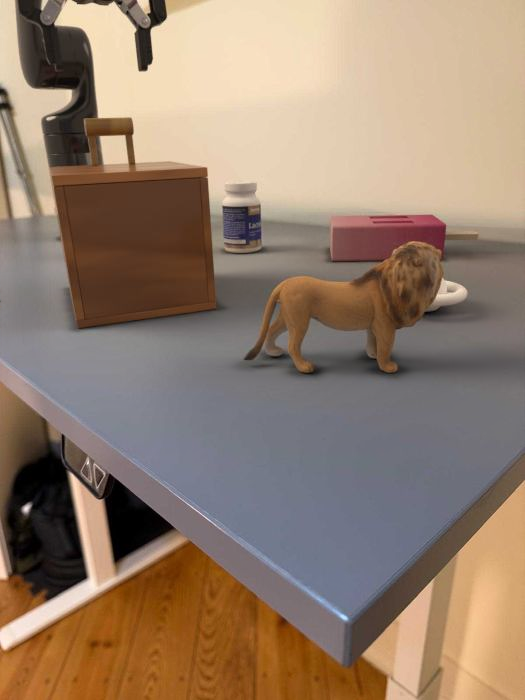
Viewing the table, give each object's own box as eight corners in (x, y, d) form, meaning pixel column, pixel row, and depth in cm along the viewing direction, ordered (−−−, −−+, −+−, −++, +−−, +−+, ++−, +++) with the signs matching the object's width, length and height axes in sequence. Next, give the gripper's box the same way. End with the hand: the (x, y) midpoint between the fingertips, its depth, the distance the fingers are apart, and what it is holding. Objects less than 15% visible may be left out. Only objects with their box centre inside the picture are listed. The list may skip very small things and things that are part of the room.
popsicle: (488, 223, 69) (332, 225, 71) (484, 260, 71) (331, 261, 73) (469, 213, 78) (330, 215, 80) (466, 246, 80) (329, 248, 81)
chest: (69, 288, 64) (50, 176, 59) (181, 275, 68) (172, 169, 64) (77, 328, 50) (53, 186, 46) (216, 308, 55) (208, 177, 50)
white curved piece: (369, 314, 51) (456, 325, 48) (372, 254, 49) (463, 261, 46) (393, 295, 58) (471, 304, 54) (397, 242, 56) (478, 247, 52)
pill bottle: (257, 254, 79) (255, 183, 75) (220, 253, 80) (215, 184, 76) (265, 246, 84) (263, 179, 80) (229, 246, 85) (226, 180, 81)
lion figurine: (422, 345, 44) (431, 234, 41) (446, 371, 39) (459, 248, 36) (242, 354, 43) (237, 242, 40) (244, 382, 38) (238, 257, 35)
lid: (50, 175, 60) (40, 120, 58) (170, 168, 64) (165, 117, 62) (53, 186, 46) (41, 113, 43) (208, 176, 50) (203, 110, 48)
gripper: (146, -100, 56) (162, 75, 62) (-3, -116, 51) (29, 74, 57) (160, -132, 49) (177, 67, 55) (-10, -153, 45) (28, 66, 51)
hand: (102, 70), depth 56 cm, fingers open, 8 cm apart
